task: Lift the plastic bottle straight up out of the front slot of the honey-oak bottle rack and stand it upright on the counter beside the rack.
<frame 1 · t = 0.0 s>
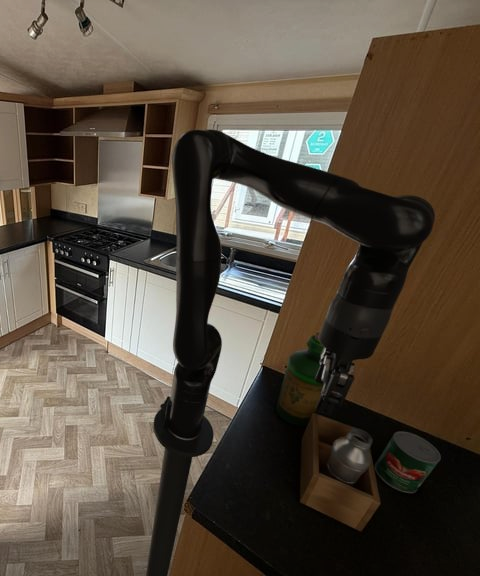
hand: (321, 396, 58), 30 cm above the worktop, tool pointing down, fingers open, 8 cm apart
bottle rack: (327, 479, 74), on the worktop
canned tomato: (395, 477, 75), on the worktop
bottle: (292, 415, 91), on the worktop
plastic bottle: (327, 496, 71), resting in bottle rack
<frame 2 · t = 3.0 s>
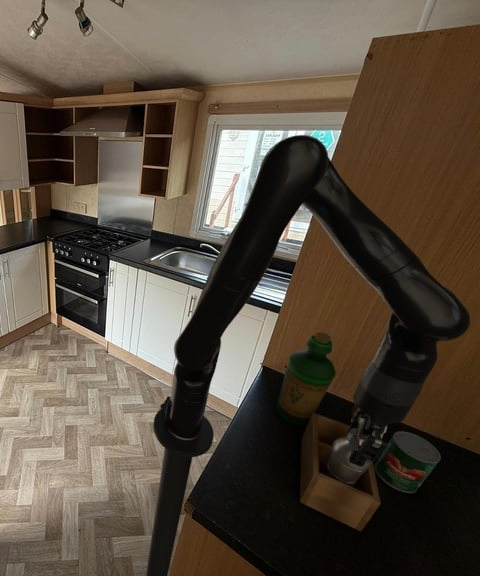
hand: (353, 450, 64), 16 cm above the worktop, tool pointing down, fingers closed on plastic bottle, 6 cm apart
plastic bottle: (328, 496, 71), resting in bottle rack, touching gripper
everything else where it was.
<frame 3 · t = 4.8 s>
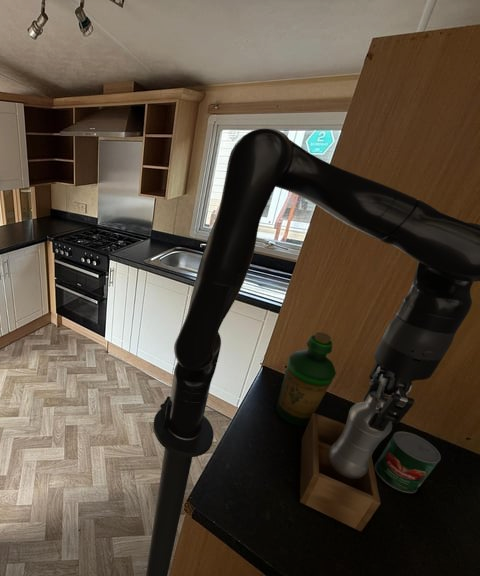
hand: (372, 415, 60), 26 cm above the worktop, tool pointing down, fingers closed on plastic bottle, 6 cm apart
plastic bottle: (342, 468, 67), point 10 cm above the worktop, touching gripper
everything else where it was.
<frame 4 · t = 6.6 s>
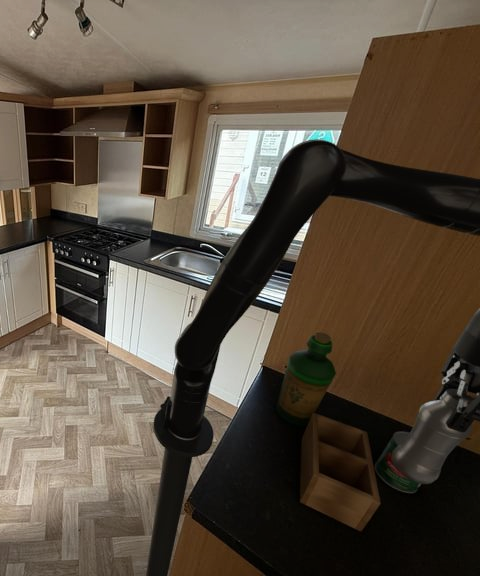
hand: (448, 415, 55), 30 cm above the worktop, tool pointing down, fingers closed on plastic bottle, 6 cm apart
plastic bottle: (408, 472, 62), point 14 cm above the worktop, touching gripper
everything else where it was.
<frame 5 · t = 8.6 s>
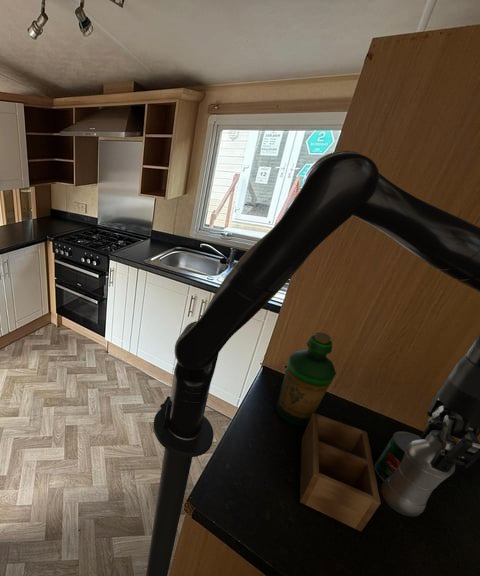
hand: (432, 454, 58), 20 cm above the worktop, tool pointing down, fingers closed on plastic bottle, 6 cm apart
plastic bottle: (396, 503, 65), point 4 cm above the worktop, touching gripper
everything else where it was.
when the fingers open (16 cm above the worktop, at t = 10.3 s): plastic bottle stays where it is, on the worktop.
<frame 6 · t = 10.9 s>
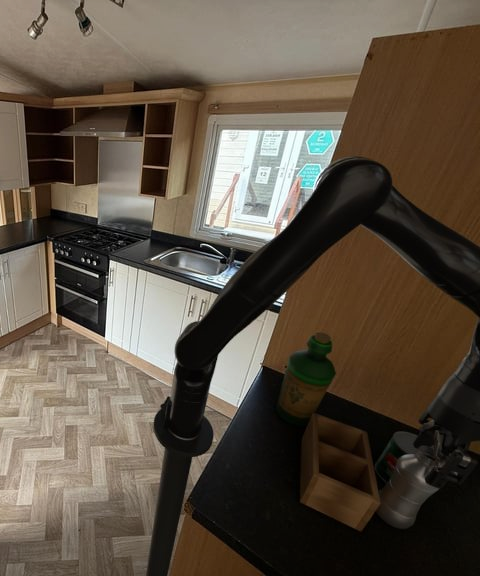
hand: (425, 465, 60), 17 cm above the worktop, tool pointing down, fingers open, 8 cm apart
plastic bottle: (388, 516, 67), on the worktop
everything else where it was.
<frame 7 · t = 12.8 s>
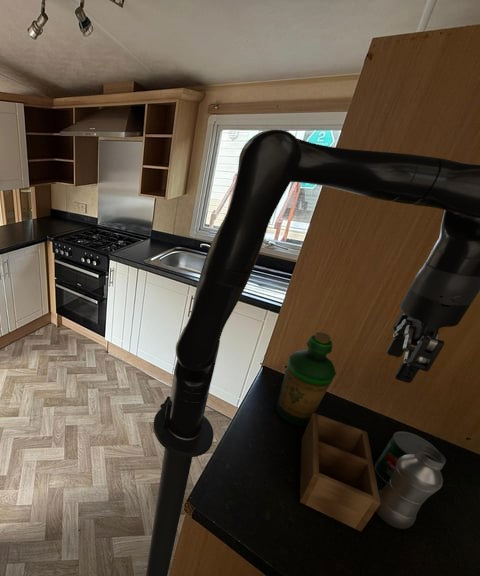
hand: (397, 367, 60), 34 cm above the worktop, tool pointing down, fingers open, 8 cm apart
nothing on the worktop moved.
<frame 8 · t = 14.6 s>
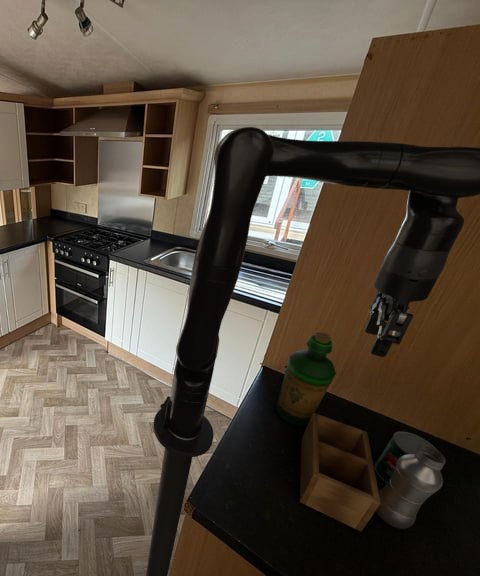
hand: (373, 343, 63), 36 cm above the worktop, tool pointing down, fingers open, 8 cm apart
nothing on the worktop moved.
at the end: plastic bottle inside the target area (0.1 cm from its centre), on the worktop; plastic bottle tilted 0°; the gripper is holding nothing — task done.
